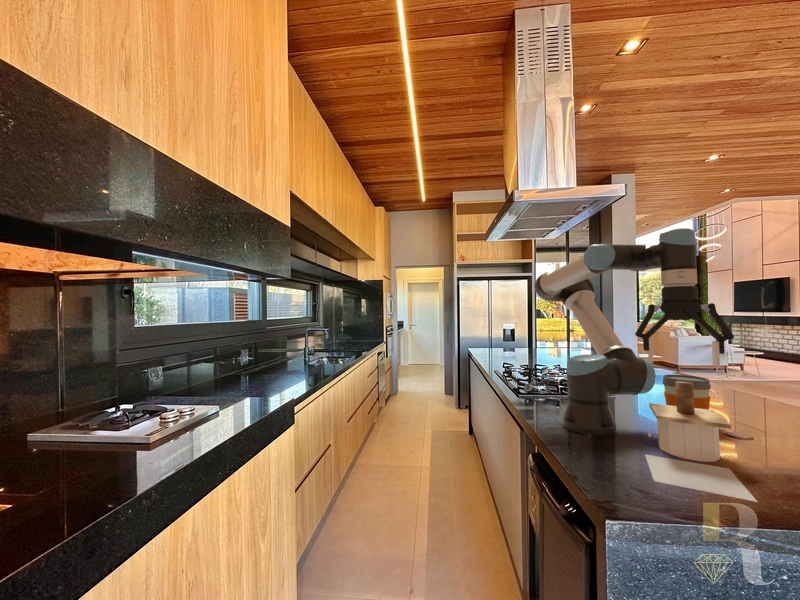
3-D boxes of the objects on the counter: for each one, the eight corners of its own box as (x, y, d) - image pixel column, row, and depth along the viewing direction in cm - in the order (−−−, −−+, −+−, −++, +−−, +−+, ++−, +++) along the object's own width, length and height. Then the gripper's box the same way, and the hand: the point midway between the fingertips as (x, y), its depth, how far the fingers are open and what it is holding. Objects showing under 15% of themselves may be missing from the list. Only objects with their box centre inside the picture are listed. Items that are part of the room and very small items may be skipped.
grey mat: (654, 482, 72) (654, 481, 72) (644, 455, 85) (644, 454, 85) (758, 504, 63) (757, 501, 63) (729, 470, 77) (729, 468, 77)
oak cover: (657, 419, 85) (655, 384, 86) (649, 406, 97) (648, 376, 97) (731, 428, 78) (729, 390, 78) (713, 413, 90) (711, 380, 90)
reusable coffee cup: (707, 419, 114) (705, 376, 115) (717, 430, 103) (715, 382, 104) (661, 414, 121) (659, 373, 122) (666, 423, 110) (664, 378, 111)
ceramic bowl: (663, 456, 85) (661, 419, 85) (655, 441, 95) (654, 408, 96) (726, 467, 79) (724, 426, 79) (711, 449, 89) (709, 414, 89)
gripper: (624, 287, 92) (627, 362, 92) (748, 282, 80) (753, 370, 79) (623, 289, 99) (625, 359, 98) (737, 284, 86) (741, 366, 85)
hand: (682, 364), depth 88 cm, fingers open, 13 cm apart
